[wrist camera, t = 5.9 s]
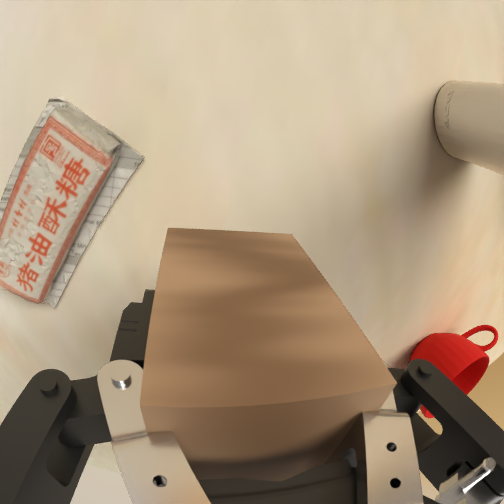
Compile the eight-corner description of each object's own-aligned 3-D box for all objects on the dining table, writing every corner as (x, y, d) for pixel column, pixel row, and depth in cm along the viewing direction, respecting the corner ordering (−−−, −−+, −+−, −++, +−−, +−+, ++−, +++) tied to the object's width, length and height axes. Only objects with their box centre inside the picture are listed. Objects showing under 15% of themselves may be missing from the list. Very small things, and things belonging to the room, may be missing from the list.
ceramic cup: (473, 321, 42) (506, 354, 33) (406, 384, 45) (433, 423, 36) (462, 284, 36) (506, 321, 27) (382, 361, 39) (415, 410, 30)
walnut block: (291, 234, 12) (397, 382, 5) (272, 328, 14) (326, 476, 7) (167, 227, 11) (139, 404, 4) (169, 328, 13) (167, 491, 6)
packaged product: (34, 89, 14) (136, 164, 18) (60, 92, 18) (147, 155, 22) (-34, 274, 17) (43, 332, 22) (-11, 251, 22) (58, 303, 26)
